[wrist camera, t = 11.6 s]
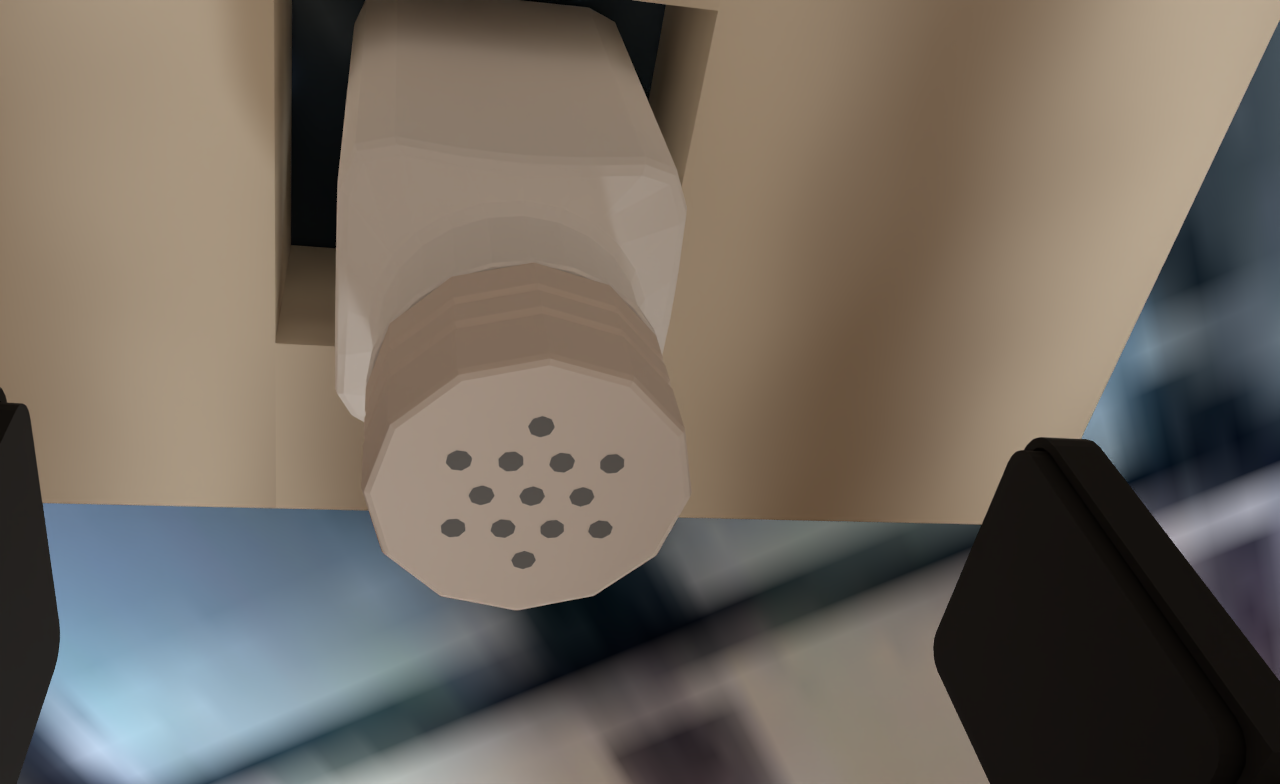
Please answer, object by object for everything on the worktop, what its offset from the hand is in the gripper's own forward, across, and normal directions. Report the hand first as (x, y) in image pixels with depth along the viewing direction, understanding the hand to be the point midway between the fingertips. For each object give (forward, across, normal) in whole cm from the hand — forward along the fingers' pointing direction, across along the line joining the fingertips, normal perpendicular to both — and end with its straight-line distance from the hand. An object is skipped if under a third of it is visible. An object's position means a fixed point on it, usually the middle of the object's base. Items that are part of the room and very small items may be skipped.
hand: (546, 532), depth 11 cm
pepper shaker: (+10, 0, 0) cm, 10 cm away
